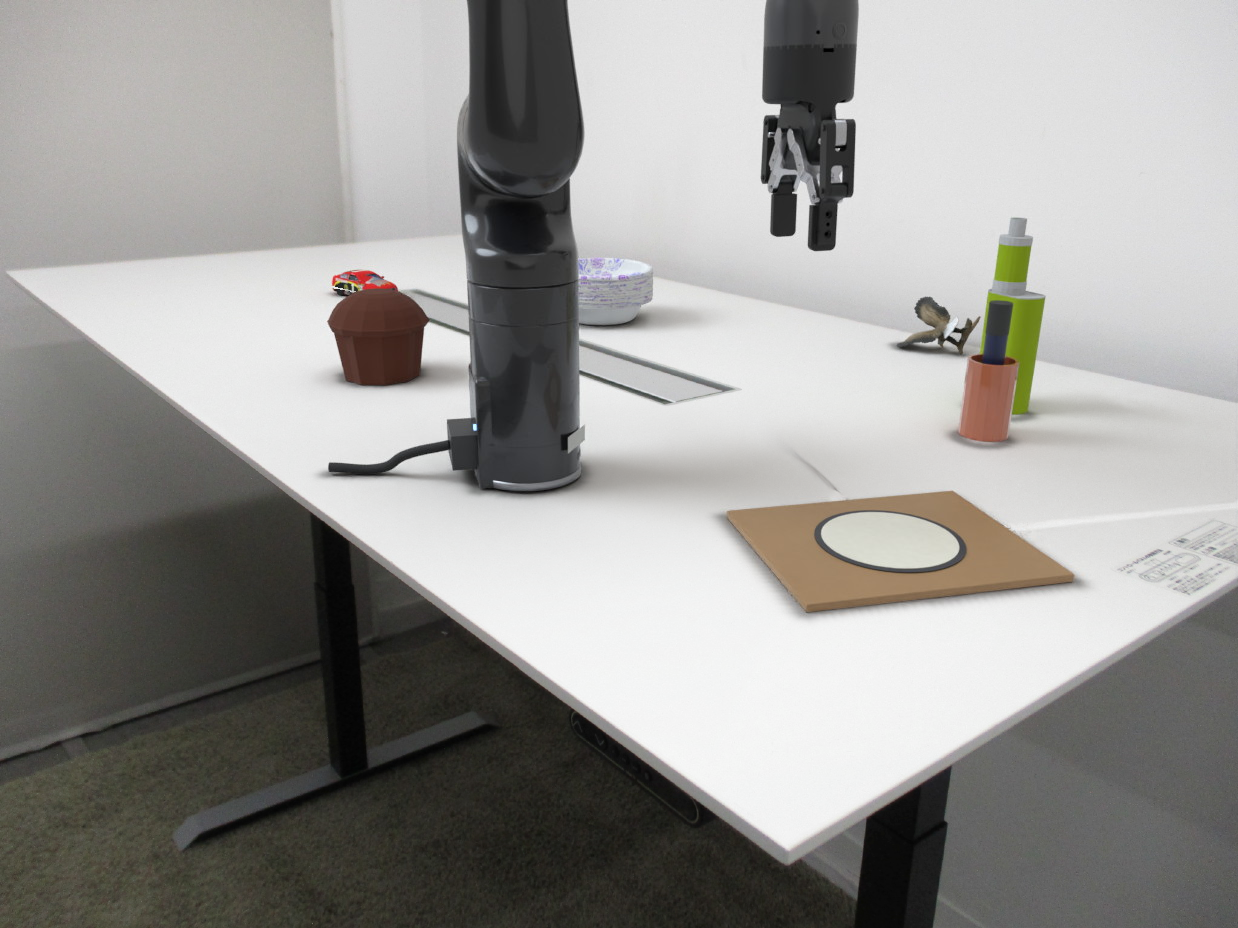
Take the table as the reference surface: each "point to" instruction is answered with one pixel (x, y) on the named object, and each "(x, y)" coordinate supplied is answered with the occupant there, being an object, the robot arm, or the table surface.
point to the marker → (997, 332)
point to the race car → (360, 281)
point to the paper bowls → (612, 290)
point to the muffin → (379, 336)
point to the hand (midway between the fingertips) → (801, 243)
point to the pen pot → (988, 399)
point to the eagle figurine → (938, 325)
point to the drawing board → (891, 550)
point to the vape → (1018, 307)
